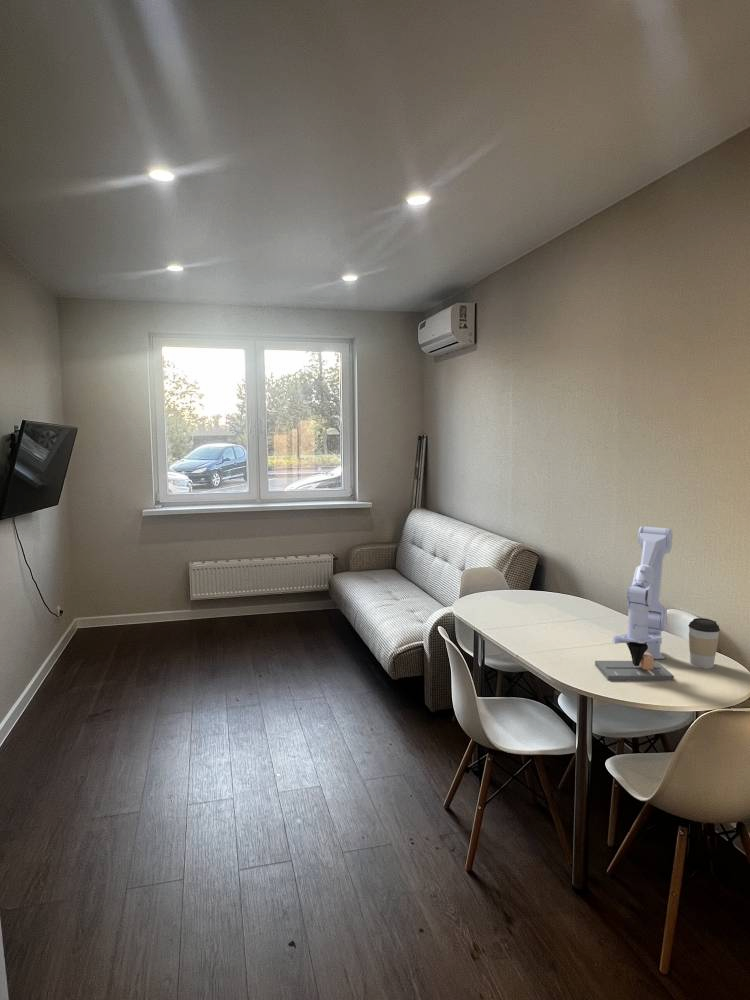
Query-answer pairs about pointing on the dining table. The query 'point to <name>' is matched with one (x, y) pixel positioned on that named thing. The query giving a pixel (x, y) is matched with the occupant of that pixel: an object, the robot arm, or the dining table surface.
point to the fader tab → (647, 661)
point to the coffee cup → (703, 642)
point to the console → (633, 671)
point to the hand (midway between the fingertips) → (635, 664)
